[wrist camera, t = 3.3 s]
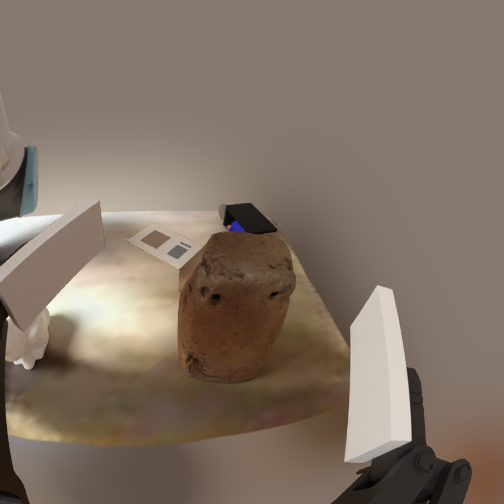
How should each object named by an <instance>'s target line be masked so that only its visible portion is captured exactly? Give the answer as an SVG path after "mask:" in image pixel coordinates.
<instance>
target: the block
mask: <svg viewBox="0 0 504 504" xmlns="http://www.w3.org/2000/svg"><path fill="white" fill-rule="evenodd" d="M295 286H296V276H295V273H294V272H293V266H292V258H291V254H290V250H289V249H288V248H287V246H286V244H285V243H284V242H283V241H282V240H280V239H278V238H276V237H273V236H269V235H257V234H251V233H247V232H240V231H231V232H221V233H216V234H213V235H212V236H211V238H210V239H209V241H208V243H207V247H206V249H205V251H204V253H203V256H202V260H201V262H200V263H199V264H198V265H197V266H196V268H195V270H194V271H193V273H192V275H191V276H190V278H188V279H187V281H186V283H185V285H184V286H183V288H182V291H181V294H180V299H179V309H178V352H179V359H180V364H181V367H182V370H183V372H184V374H185V375H186V376H188V377H192V378H196V379H199V380H203V381H206V382H216V383H234V382H241V381H246V380H249V379H252V378H253V377H255V376H256V375H257V373H258V372H259V371H260V370H261V368H262V367H263V365H264V364H265V362H266V360H267V358H268V356H269V354H270V352H271V348H272V345H273V344H274V342H275V340H276V338H277V336H278V334H279V332H280V329H281V326H282V324H283V321H284V318H285V316H286V312H287V309H288V305H289V301H290V299H289V296H290V295H291V294H292V293H293V291H294V290H295Z"/></svg>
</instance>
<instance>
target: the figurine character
mask: <svg viewBox="0 0 504 504" xmlns="http://www.w3.org/2000/svg"><path fill="white" fill-rule="evenodd" d="M219 215H220V218H221V219H222V220H224V222H223V225H224V226H225V227H226V228H227V229H228V230H229V232H231V231H240V232H247V233H251V234H257V235H263V234H264V233H271V232H277V228H276V227H275V226H274V225H273V224H272V223H271V222H270V221H269V220H268V219H267V218H266V217H265V216H264V215H263V214H262V213H261V212H260V211H259V210H257V209H256V208H255V207H254V206H253V205H252V204H251V203H239V204H234V205H227V204H223V205H220V206H219ZM228 225H229V226H228Z"/></svg>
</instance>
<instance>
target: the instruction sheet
mask: <svg viewBox="0 0 504 504" xmlns="http://www.w3.org/2000/svg"><path fill="white" fill-rule="evenodd" d="M127 241H128V242H130V243H131V244H133V245H135V246H137V247H139V248H141V249H142V250H144V251H146V252H148V253H150V254H152V255H154V256H155V257H157V258H159V259H161V260H163V261H165V262H167V263H169V264H171V265H173V266H174V267H176V268H178V269H180V268H181V267H182V266H183V265H184V264H185V263H186V262H188V261H189V260H190V259H191V258H192V257H193V256H194V255H195V254H196V253H197V252H198V251H199V250H200V249H202V248H203V247H202V246H200V245H198V244H196V243H193V242H191V241H189V240H187V239H185V238H183V237H180V236H178V235H176V234H174V233H172V232H170V231H168V230H165V229H163V228H161V227H159V226H157V225H155V224H153V223H151V224H150V225H148V226H147V227H145V228H144V229H142V230H141V231H140V232H138V233H137V234H135V235H134V236H132V237H131V238H129V239H128V240H127Z"/></svg>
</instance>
